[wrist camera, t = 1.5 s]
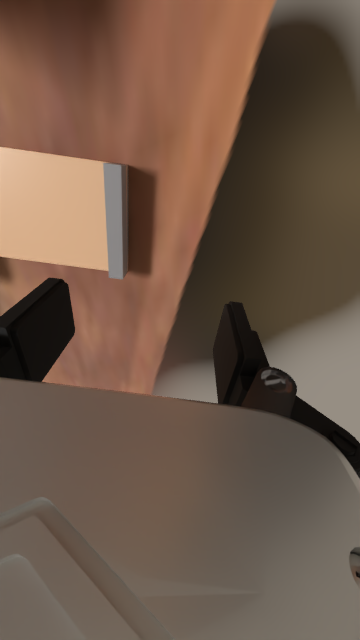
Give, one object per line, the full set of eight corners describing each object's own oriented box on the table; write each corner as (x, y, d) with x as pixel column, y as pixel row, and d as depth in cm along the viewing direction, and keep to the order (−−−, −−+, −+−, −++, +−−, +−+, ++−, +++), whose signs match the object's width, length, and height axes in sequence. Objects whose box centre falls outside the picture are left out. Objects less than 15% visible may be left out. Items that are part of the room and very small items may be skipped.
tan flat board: (-46, 139, 23) (-76, 136, 20) (128, 165, 23) (121, 165, 21) (-10, 251, 29) (-29, 259, 27) (128, 269, 30) (122, 279, 27)
